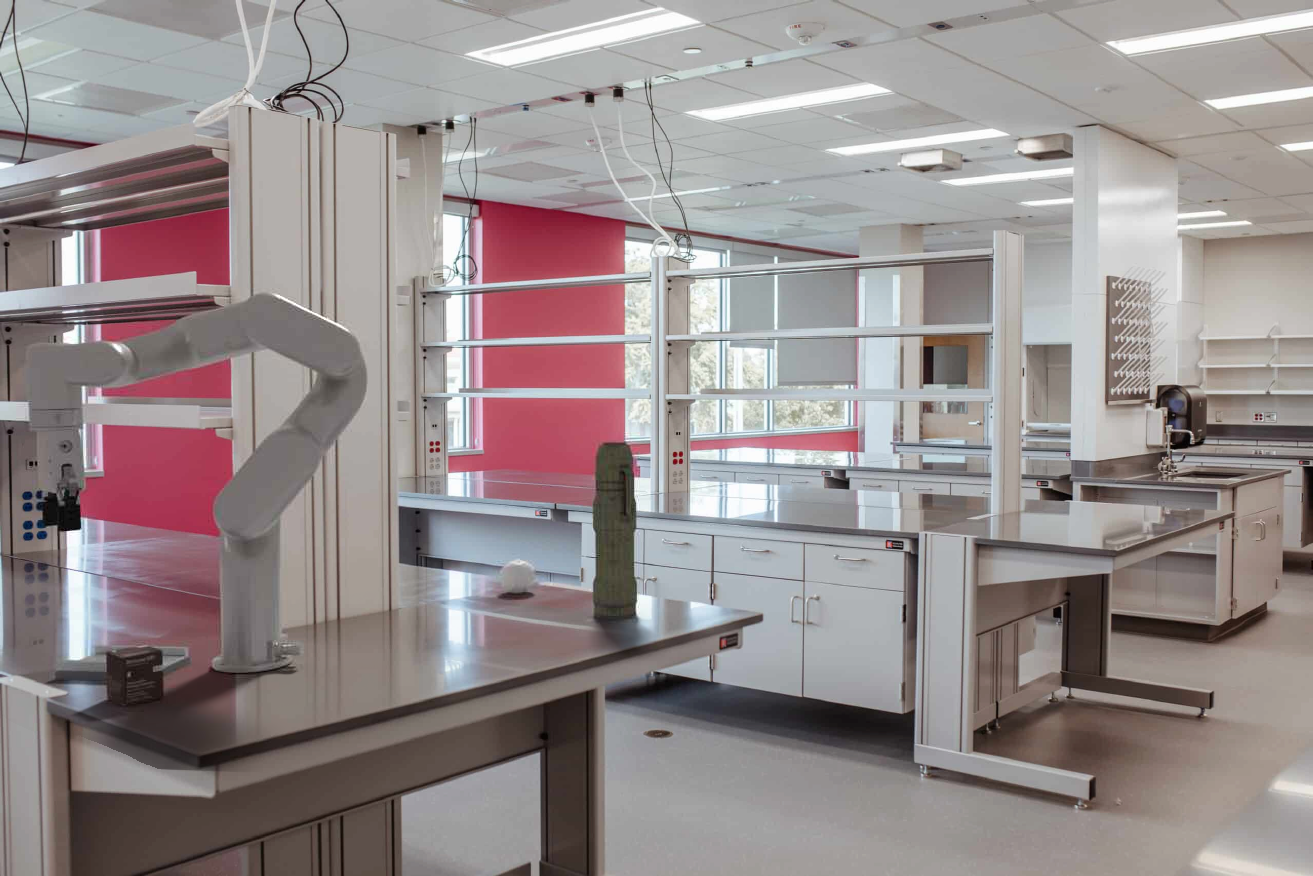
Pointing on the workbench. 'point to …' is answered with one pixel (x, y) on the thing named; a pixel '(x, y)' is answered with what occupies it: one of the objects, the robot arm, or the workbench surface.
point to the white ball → (517, 576)
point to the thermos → (614, 533)
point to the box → (134, 675)
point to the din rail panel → (97, 666)
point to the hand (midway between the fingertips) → (61, 528)
